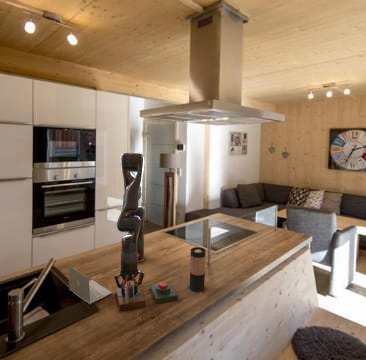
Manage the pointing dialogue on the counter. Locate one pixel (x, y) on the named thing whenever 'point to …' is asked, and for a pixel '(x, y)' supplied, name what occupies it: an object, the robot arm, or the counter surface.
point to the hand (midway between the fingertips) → (129, 293)
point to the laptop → (86, 287)
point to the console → (130, 299)
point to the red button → (163, 285)
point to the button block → (163, 293)
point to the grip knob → (129, 289)
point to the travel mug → (197, 268)
